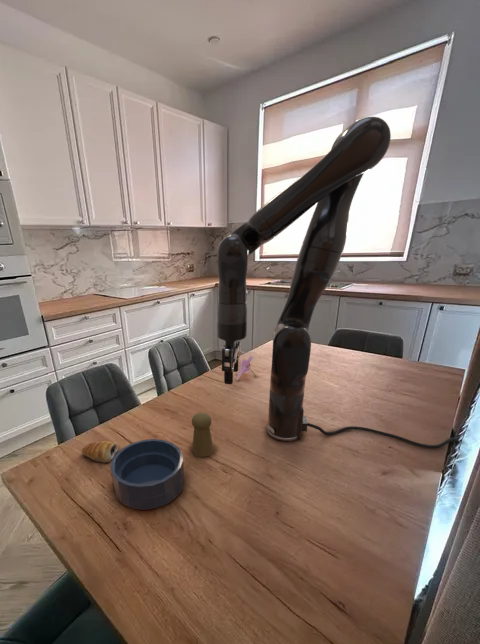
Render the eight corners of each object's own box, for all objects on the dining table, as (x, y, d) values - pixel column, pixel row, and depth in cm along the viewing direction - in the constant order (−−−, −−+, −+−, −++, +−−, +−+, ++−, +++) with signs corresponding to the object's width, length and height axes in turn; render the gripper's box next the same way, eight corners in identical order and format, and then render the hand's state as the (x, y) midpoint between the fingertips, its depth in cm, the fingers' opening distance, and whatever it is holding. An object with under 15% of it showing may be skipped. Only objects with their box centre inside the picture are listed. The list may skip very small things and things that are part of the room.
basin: (191, 465, 81) (190, 442, 78) (173, 516, 66) (171, 491, 63) (131, 457, 84) (128, 436, 82) (102, 505, 69) (97, 480, 67)
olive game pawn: (212, 457, 83) (211, 422, 79) (189, 455, 84) (187, 420, 80) (215, 444, 88) (214, 410, 84) (194, 442, 89) (192, 408, 85)
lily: (244, 371, 138) (234, 354, 134) (268, 365, 130) (258, 347, 127) (236, 389, 130) (225, 372, 126) (261, 384, 122) (250, 366, 118)
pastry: (78, 460, 84) (75, 448, 83) (90, 445, 90) (88, 434, 89) (110, 464, 82) (108, 452, 81) (120, 448, 88) (119, 437, 87)
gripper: (242, 327, 73) (241, 389, 79) (250, 313, 85) (248, 368, 91) (211, 326, 75) (212, 386, 81) (223, 313, 87) (223, 366, 93)
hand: (231, 377), depth 86 cm, fingers open, 8 cm apart
